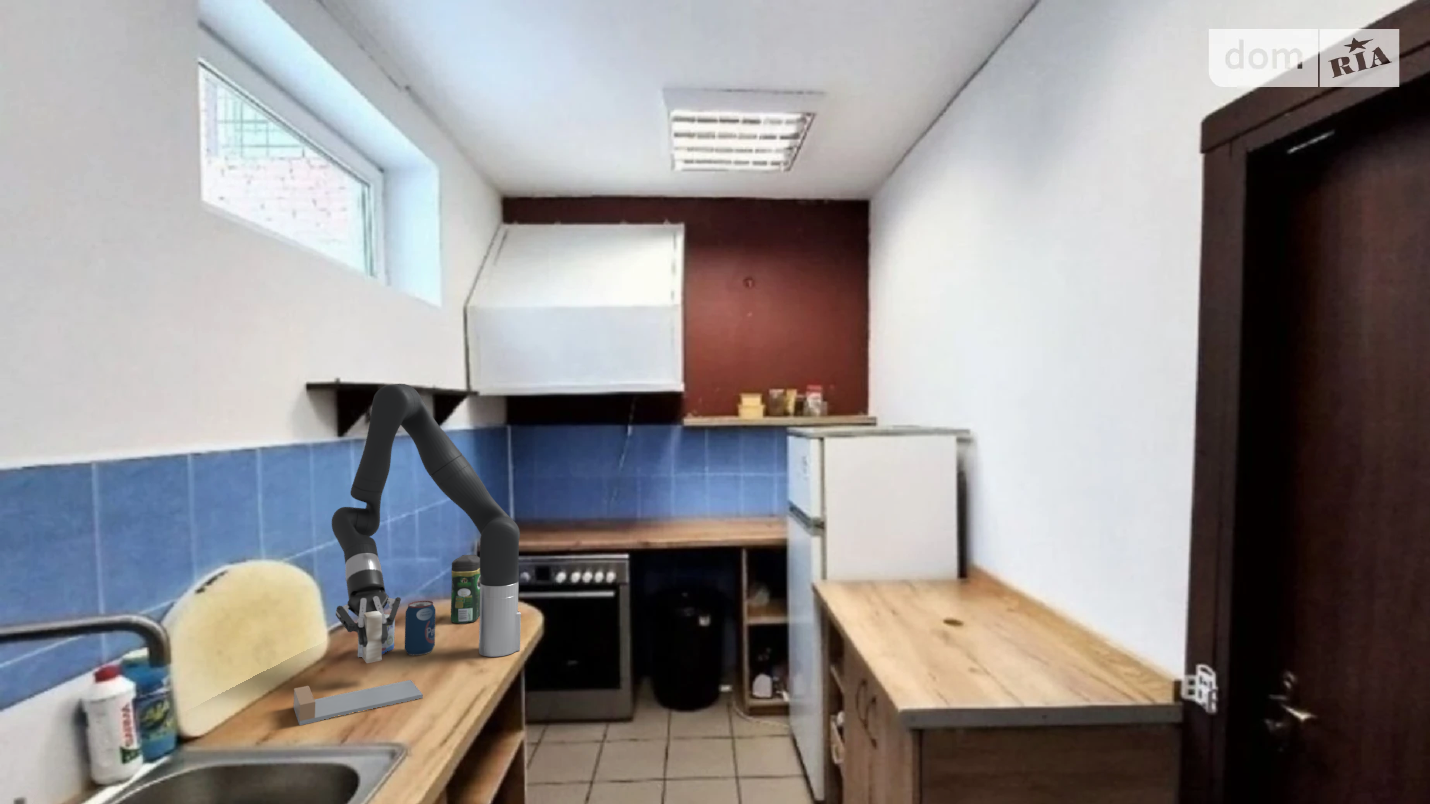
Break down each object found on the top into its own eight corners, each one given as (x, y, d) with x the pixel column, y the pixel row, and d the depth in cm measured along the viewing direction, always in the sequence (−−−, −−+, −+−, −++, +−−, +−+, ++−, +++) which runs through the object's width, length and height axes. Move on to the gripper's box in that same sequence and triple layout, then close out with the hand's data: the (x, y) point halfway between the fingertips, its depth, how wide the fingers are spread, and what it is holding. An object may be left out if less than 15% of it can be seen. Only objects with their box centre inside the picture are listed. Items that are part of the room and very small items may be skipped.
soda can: (433, 654, 168) (434, 605, 168) (403, 657, 166) (404, 608, 166) (435, 646, 174) (436, 599, 175) (405, 648, 172) (407, 601, 173)
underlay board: (410, 683, 149) (411, 665, 149) (422, 698, 141) (423, 679, 141) (293, 707, 136) (294, 688, 136) (299, 725, 128) (300, 704, 128)
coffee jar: (454, 615, 203) (456, 553, 203) (482, 614, 204) (483, 552, 205) (447, 625, 193) (448, 559, 194) (476, 624, 194) (477, 558, 195)
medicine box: (372, 659, 164) (374, 623, 165) (356, 658, 165) (357, 622, 165) (394, 649, 172) (395, 614, 172) (379, 647, 173) (380, 613, 173)
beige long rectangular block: (377, 655, 153) (378, 610, 153) (381, 660, 149) (382, 614, 150) (363, 658, 151) (363, 612, 151) (366, 663, 148) (366, 616, 148)
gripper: (332, 572, 152) (340, 640, 142) (399, 564, 161) (411, 628, 151) (328, 591, 156) (336, 659, 146) (394, 582, 165) (405, 646, 155)
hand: (374, 643), depth 149 cm, fingers closed on beige long rectangular block, 3 cm apart
